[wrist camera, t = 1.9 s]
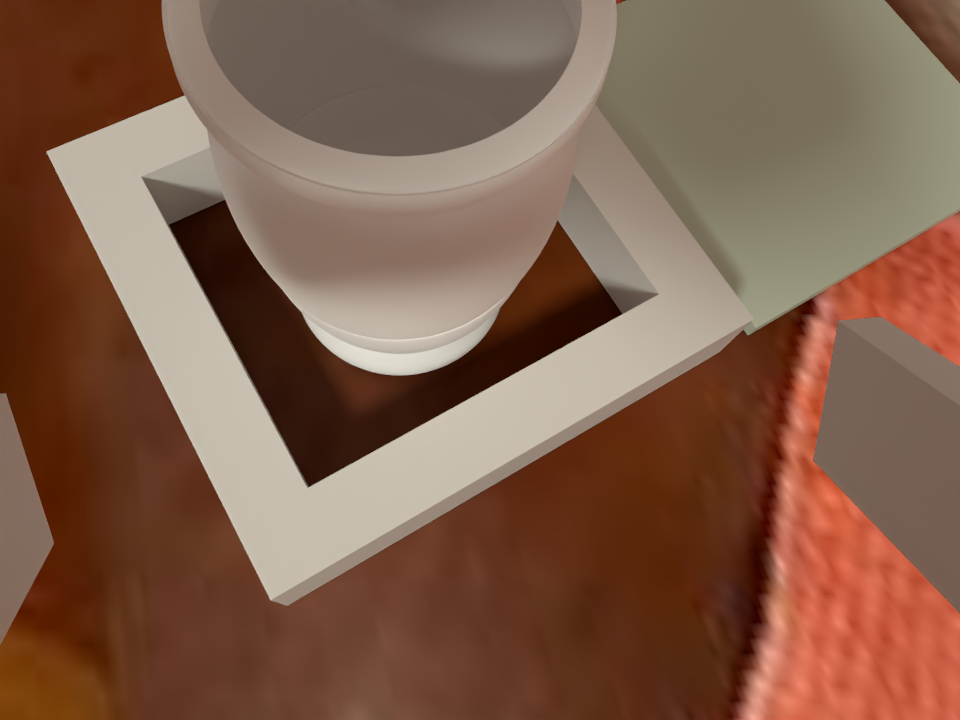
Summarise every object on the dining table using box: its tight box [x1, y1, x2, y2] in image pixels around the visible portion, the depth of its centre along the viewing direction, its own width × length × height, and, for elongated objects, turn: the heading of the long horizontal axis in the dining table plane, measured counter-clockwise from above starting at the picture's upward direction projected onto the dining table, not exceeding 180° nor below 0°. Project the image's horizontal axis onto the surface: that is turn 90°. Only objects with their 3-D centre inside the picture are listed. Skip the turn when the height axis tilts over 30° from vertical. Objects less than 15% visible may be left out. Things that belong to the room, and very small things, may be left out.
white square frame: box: [47, 96, 754, 606], centre depth 30 cm, size 18×19×4 cm
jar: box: [162, 0, 617, 375], centre depth 25 cm, size 11×10×15 cm
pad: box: [595, 0, 960, 335], centre depth 36 cm, size 16×16×1 cm
